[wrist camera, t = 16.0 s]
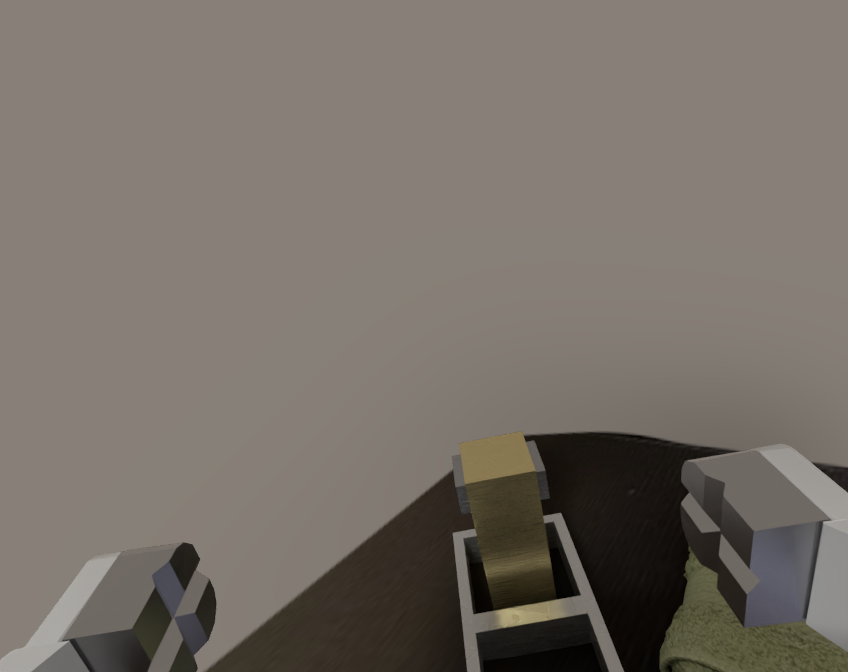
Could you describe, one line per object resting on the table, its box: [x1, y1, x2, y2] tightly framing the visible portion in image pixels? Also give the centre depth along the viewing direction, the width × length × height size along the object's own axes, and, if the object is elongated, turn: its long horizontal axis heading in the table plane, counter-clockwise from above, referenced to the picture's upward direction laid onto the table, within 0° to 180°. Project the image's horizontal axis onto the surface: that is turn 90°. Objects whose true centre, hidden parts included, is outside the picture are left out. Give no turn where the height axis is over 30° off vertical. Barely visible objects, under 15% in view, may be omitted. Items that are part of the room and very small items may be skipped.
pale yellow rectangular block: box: [452, 431, 557, 611], centre depth 32 cm, size 5×4×11 cm
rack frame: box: [453, 513, 624, 672], centre depth 30 cm, size 8×15×2 cm, turn 1°
